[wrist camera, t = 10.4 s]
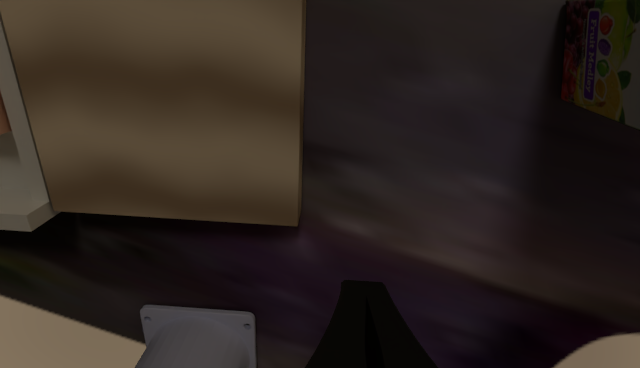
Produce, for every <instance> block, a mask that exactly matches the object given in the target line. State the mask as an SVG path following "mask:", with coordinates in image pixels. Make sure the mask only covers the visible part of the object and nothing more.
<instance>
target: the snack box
mask: <svg viewBox="0 0 640 368" xmlns="http://www.w3.org/2000/svg"><path fill="white" fill-rule="evenodd" d="M566 5H567V20H566V33H565V49H564V63H563V76H562V90H561V99H562V100H563V101H566V102H568V103H571V104H574V105H576V106H579V107H581V108H584V109H586V110H589V111H591V112H594V113H597V114H599V115H601V116H604V117H606V118H609V119H612V120H614V121H617V122H619V123H622V124H624V125H627V126H629V127H632V128H635V129H637V130H640V0H566Z"/></svg>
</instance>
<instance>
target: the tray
mask: <svg viewBox="0 0 640 368" xmlns="http://www.w3.org/2000/svg"><path fill="white" fill-rule="evenodd" d="M0 91H1V95H2V98H3V101H4V105H5V108H6V112H7V115H8V119H9V122H10V126H11V129H12V131H10V132H7V133H4V134H1V135H0V230H14V231H29V232H31V231H33V230H34V229H36V228H37V227H39V226H40V225H42V224H43V223H45V222H46V221H48V220H49V219H51V218H52V217H54V216H55V215H57V214H58V213H60V212H61V211H54V209H53V206H52V202H51V198H50V194H49V191H48V187H47V183H46V180H45V176H44V172H43V168H42V165H41V161H40V157H39V153H38V150H37V146H36V142H35V139H34V135H33V131H32V127H31V124H30V120H29V116H28V113H27V109H26V105H25V101H24V98H23V94H22V90H21V87H20V83H19V79H18V75H17V72H16V68H15V64H14V61H13V57H12V53H11V49H10V46H9V42H8V38H7V34H6V31H5V27H4V23H3V20H2V16H1V12H0Z"/></svg>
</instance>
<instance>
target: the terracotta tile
mask: <svg viewBox="0 0 640 368" xmlns="http://www.w3.org/2000/svg"><path fill="white" fill-rule="evenodd" d="M10 131H12V129H11V126H10V122H9V119H8V115H7V112H6V108H5V105H4V101H3V98H2V95H1V91H0V135H1V134H4V133H7V132H10Z"/></svg>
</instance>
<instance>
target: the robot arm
mask: <svg viewBox="0 0 640 368" xmlns="http://www.w3.org/2000/svg"><path fill="white" fill-rule="evenodd" d="M140 316H141V321H142V326H143V331H144V337H145V342H146V347H147V348H146V350H145V352H144V353H143V355H142V356H141V358H140V360H139V361H138V363H137V365H136V367H135V368H257V356H256V327H255V316H254V315H253V314H252V313H251V312H244V311H230V310H216V309H201V308H187V307H173V306H159V305H144V306H143V307H142V309H141V310H140ZM149 317H150V318H149ZM246 324H249V325H246ZM305 368H438V367H437V366H436V364H435V363H434V362H433V361H432V359H431V358H430V357H429V356H428V354H427V353H426V352H425V350H424V349H423V348H422V346H421V345H420V343H419V342H418V341H417V339H416V338H415V336H414V335H413V333H412V332H411V330H410V329H409V327H408V326H407V324H406V323H405V321H404V319H403V318H402V316H401V315H400V313H399V311H398V309H397V308H396V306H395V304H394V302H393V301H392V299H391V297H390V295H389V293H388V291H387V289H386V287H385V285H384V284H383V283H382V282H369V281H354V280H344V281H343V282H342V283H341V292H340V296H339V300H338V303H337V306H336V309H335V311H334V314H333V316H332V319H331V321H330V323H329V326H328V328H327V330H326V332H325V334H324V336H323V338H322V340H321V342H320V344H319V345H318V347H317V349H316V351H315V352H314V354H313V356H312V357H311V359H310V361H309V362H308V364H307V365H306V367H305Z"/></svg>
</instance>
